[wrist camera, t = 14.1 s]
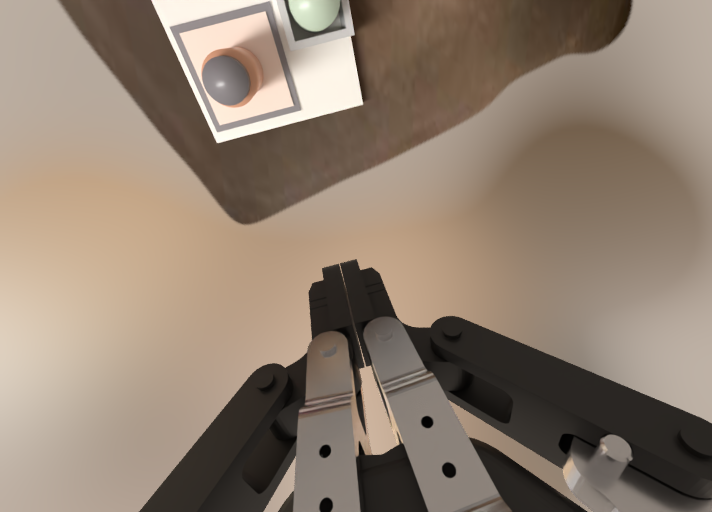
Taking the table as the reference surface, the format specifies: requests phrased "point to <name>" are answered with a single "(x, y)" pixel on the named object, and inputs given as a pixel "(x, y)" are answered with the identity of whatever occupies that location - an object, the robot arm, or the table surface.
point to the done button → (314, 13)
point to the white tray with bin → (265, 60)
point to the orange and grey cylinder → (232, 76)
